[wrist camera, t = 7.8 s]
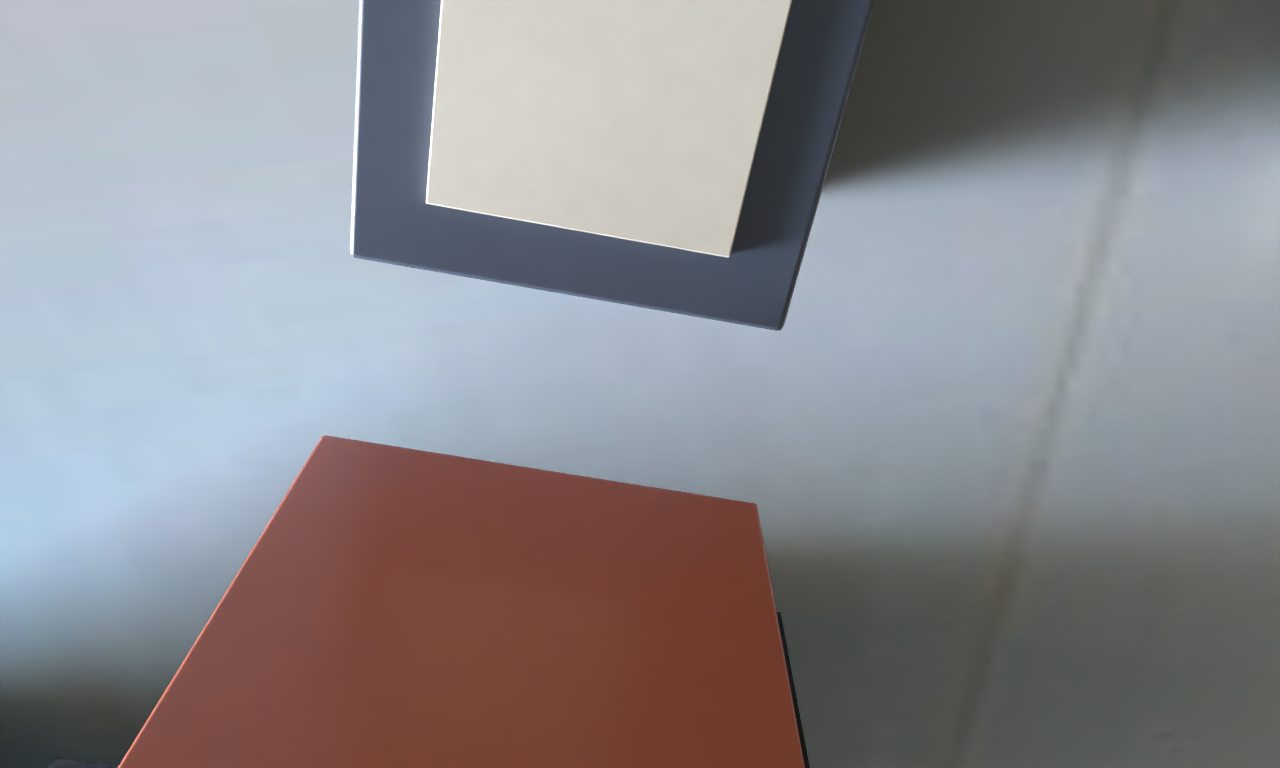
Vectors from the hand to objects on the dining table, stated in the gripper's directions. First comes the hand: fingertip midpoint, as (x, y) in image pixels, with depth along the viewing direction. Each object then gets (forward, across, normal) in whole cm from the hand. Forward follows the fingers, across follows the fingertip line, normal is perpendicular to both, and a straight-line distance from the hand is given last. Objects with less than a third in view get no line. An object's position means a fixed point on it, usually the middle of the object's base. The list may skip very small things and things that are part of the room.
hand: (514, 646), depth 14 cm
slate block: (+7, 0, +8) cm, 11 cm away
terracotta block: (0, 0, 0) cm, 0 cm away
